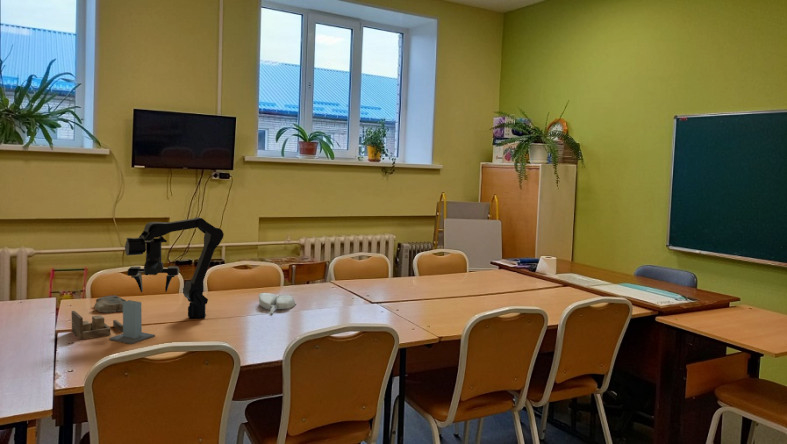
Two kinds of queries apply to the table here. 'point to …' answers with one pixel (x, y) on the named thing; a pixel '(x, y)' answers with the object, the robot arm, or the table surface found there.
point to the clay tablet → (109, 304)
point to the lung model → (276, 301)
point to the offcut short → (86, 326)
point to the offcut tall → (98, 322)
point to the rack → (78, 328)
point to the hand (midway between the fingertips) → (153, 291)
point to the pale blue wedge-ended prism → (132, 319)
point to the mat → (131, 340)
